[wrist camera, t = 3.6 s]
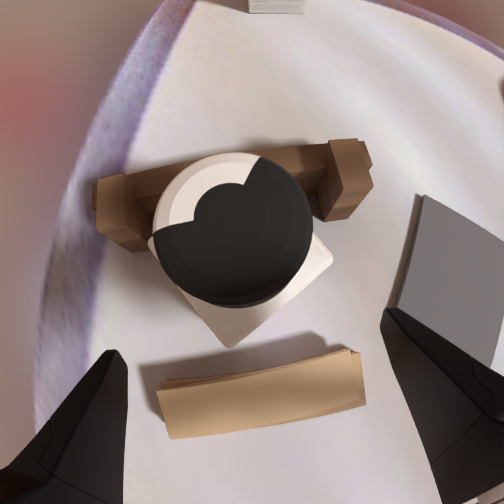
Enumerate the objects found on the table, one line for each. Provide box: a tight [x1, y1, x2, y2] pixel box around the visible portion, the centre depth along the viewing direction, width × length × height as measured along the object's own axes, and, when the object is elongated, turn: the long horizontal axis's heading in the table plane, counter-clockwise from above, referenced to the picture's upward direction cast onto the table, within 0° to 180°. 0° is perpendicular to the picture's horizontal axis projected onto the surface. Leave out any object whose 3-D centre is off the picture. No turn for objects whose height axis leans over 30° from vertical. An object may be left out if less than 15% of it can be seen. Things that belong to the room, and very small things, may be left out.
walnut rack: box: [92, 138, 373, 252], centre depth 20 cm, size 4×20×6 cm, turn 99°
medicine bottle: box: [148, 152, 333, 348], centre depth 16 cm, size 7×7×12 cm
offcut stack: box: [156, 349, 366, 439], centre depth 19 cm, size 5×14×2 cm, turn 99°
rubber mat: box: [395, 195, 504, 368], centre depth 21 cm, size 12×12×1 cm
